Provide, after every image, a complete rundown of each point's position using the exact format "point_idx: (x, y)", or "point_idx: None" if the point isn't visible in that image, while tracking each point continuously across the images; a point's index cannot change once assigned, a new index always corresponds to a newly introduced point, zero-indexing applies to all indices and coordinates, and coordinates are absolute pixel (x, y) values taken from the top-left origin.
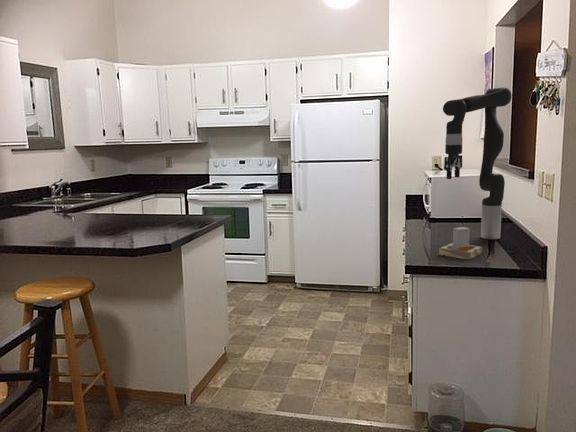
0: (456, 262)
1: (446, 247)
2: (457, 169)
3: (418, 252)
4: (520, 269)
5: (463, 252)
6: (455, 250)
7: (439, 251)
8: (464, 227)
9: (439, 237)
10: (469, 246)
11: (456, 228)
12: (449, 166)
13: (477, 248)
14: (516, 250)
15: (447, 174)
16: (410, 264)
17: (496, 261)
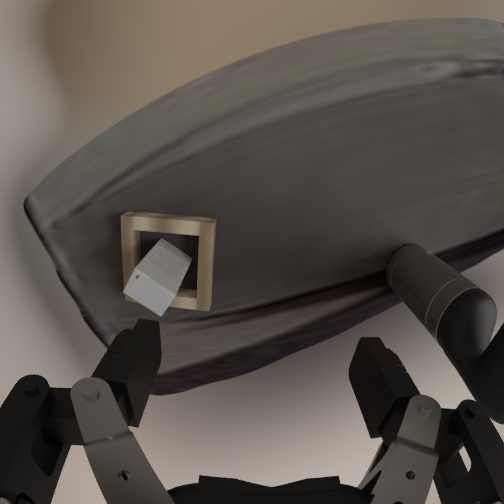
0: (94, 274)
1: (142, 229)
2: (386, 424)
3: (122, 149)
4: None
5: (124, 285)
6: (125, 263)
7: (124, 214)
8: (166, 298)
9: (358, 127)
10: (197, 280)
11: (133, 280)
12: (45, 457)
13: (181, 306)
14: (284, 356)
15: (107, 362)
16: (30, 194)
17: None
